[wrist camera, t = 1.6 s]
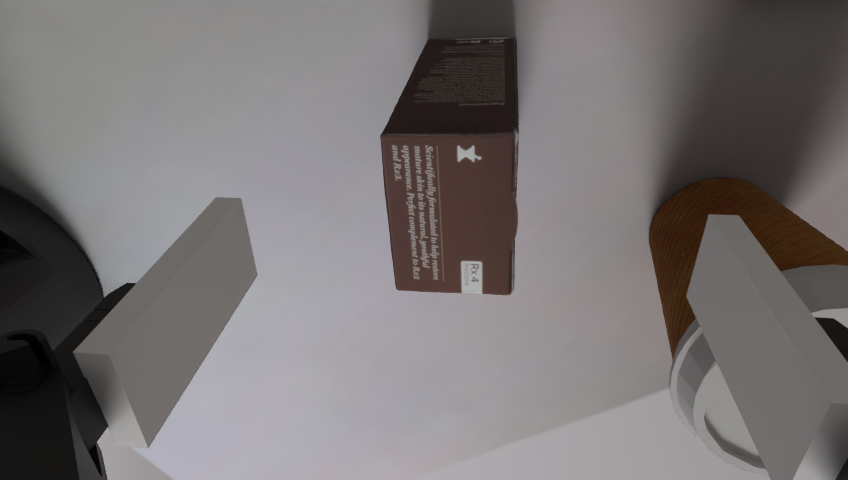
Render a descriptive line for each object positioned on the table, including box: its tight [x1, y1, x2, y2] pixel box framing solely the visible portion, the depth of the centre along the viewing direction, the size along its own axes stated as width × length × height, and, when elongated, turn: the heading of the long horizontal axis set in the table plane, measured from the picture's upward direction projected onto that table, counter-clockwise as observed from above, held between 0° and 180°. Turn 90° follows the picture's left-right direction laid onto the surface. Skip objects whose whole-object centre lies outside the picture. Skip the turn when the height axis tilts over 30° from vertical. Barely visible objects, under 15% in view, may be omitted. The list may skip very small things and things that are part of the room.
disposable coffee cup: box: [649, 178, 848, 476], centre depth 25 cm, size 10×10×12 cm
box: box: [380, 36, 519, 295], centre depth 23 cm, size 6×4×12 cm
